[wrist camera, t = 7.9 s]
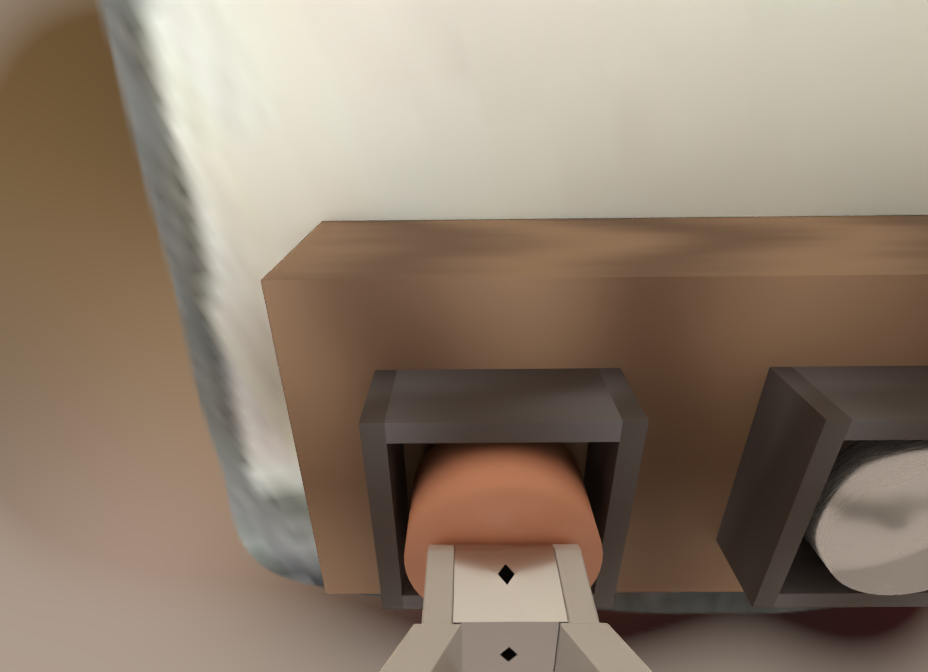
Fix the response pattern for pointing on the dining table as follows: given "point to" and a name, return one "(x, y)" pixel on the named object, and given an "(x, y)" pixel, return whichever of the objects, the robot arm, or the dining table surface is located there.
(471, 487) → the terracotta button
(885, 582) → the steel button
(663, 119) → the dining table surface
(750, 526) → the button box
